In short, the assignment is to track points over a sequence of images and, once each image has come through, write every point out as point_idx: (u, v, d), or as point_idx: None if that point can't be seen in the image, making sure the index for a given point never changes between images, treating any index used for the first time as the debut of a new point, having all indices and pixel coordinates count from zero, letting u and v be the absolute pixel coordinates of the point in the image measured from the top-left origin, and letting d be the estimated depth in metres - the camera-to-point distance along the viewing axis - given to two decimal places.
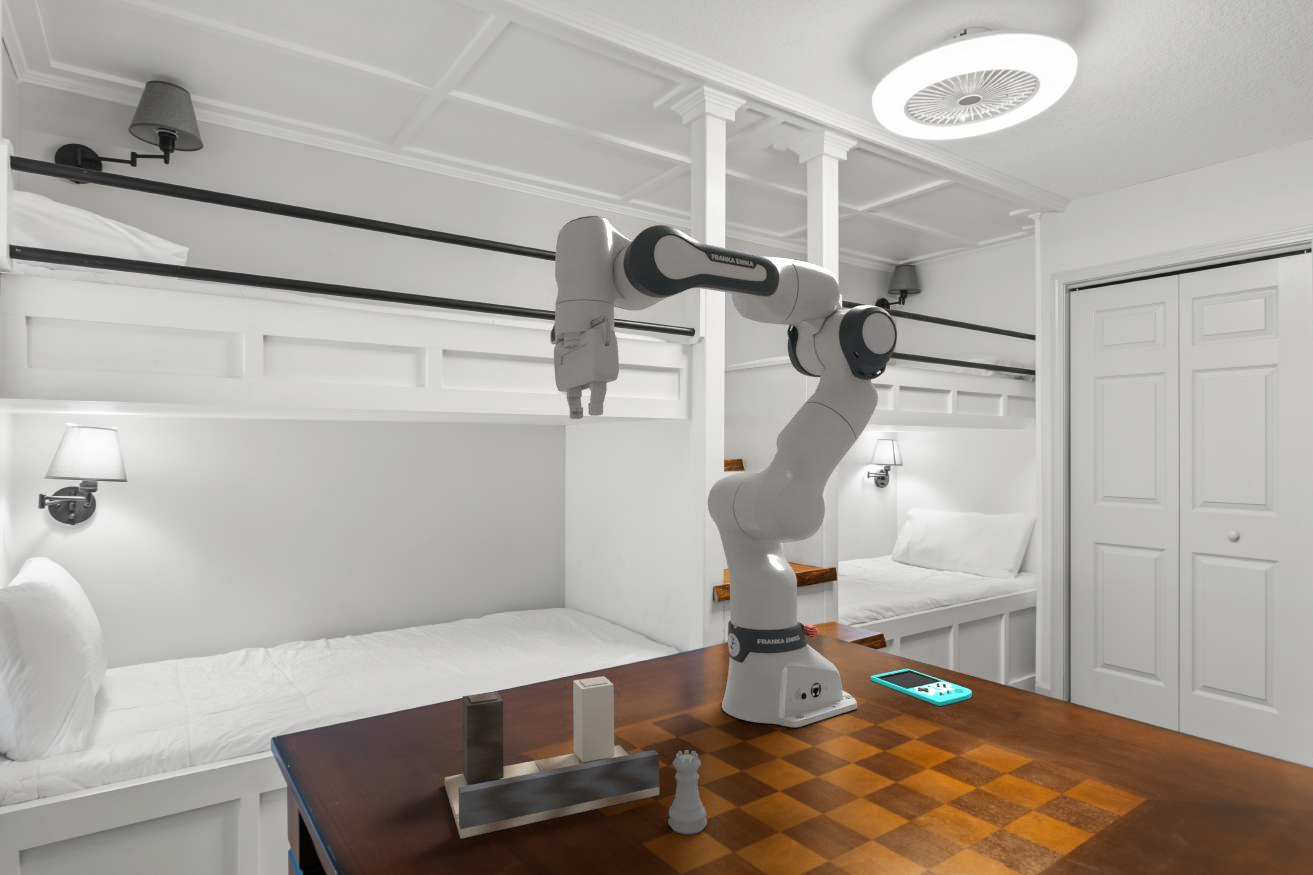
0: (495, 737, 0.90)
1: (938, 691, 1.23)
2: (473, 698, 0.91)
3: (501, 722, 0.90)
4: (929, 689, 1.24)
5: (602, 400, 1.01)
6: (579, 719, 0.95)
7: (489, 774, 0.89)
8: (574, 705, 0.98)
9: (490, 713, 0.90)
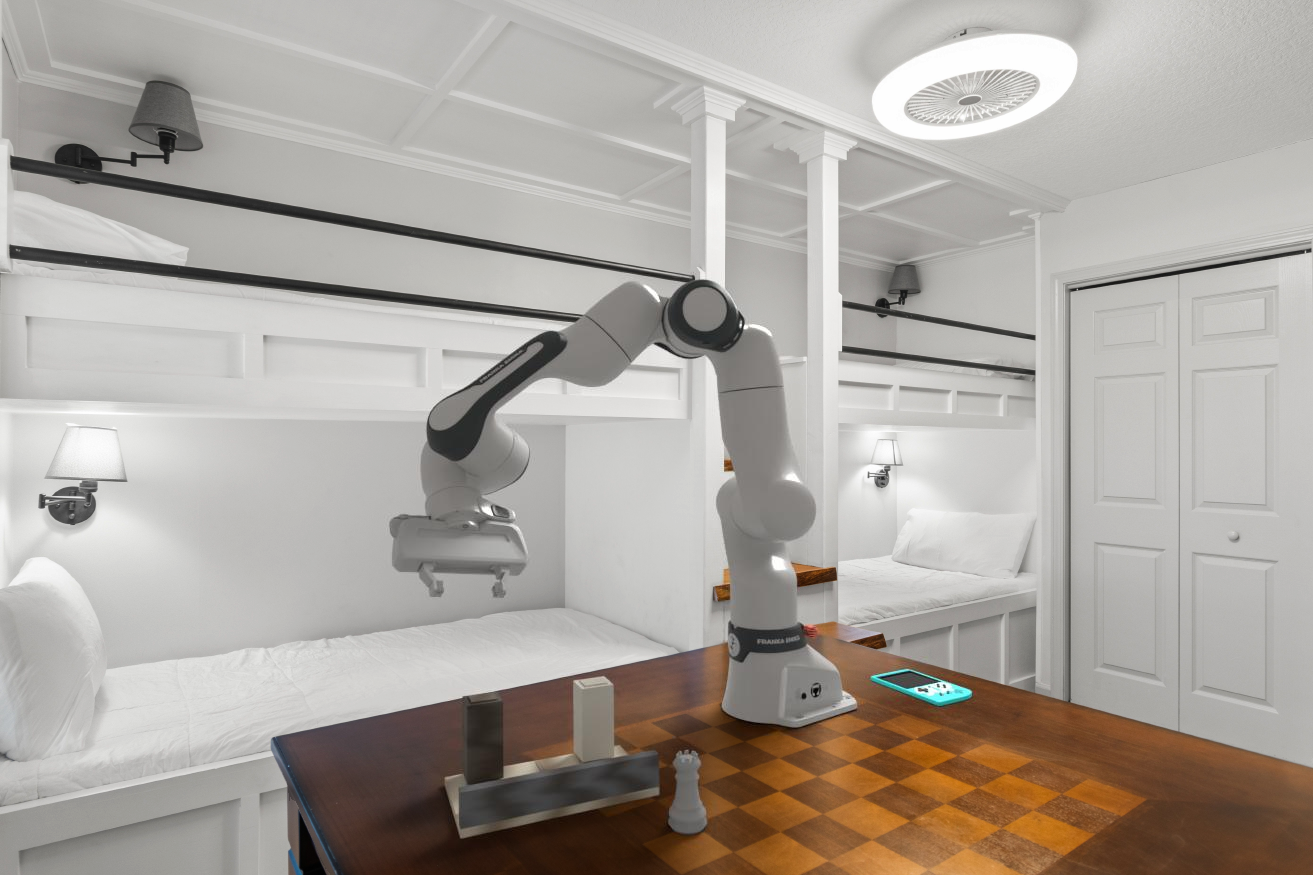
0: (495, 737, 0.90)
1: (938, 691, 1.23)
2: (473, 698, 0.91)
3: (501, 722, 0.90)
4: (929, 689, 1.24)
5: (429, 579, 0.99)
6: (579, 719, 0.95)
7: (489, 774, 0.89)
8: (574, 705, 0.98)
9: (490, 713, 0.90)
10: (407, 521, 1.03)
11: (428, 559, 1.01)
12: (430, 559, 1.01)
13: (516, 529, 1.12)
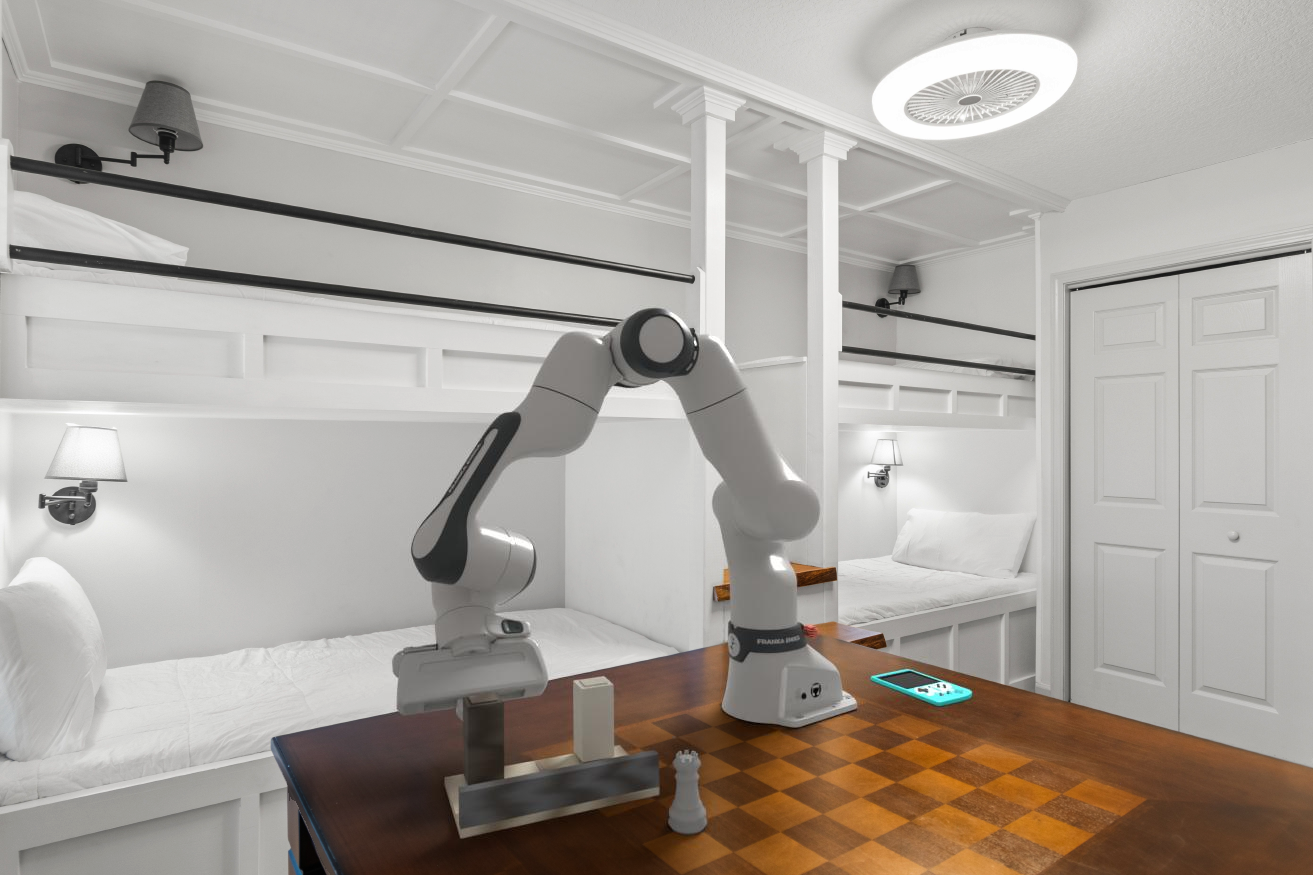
0: (495, 738, 0.89)
1: (938, 691, 1.23)
2: (474, 699, 0.90)
3: (502, 723, 0.90)
4: (929, 689, 1.24)
5: None
6: (579, 719, 0.95)
7: (490, 775, 0.89)
8: (574, 705, 0.98)
9: (491, 714, 0.89)
10: (408, 657, 0.96)
11: (431, 699, 0.93)
12: (433, 699, 0.93)
13: (532, 643, 1.02)
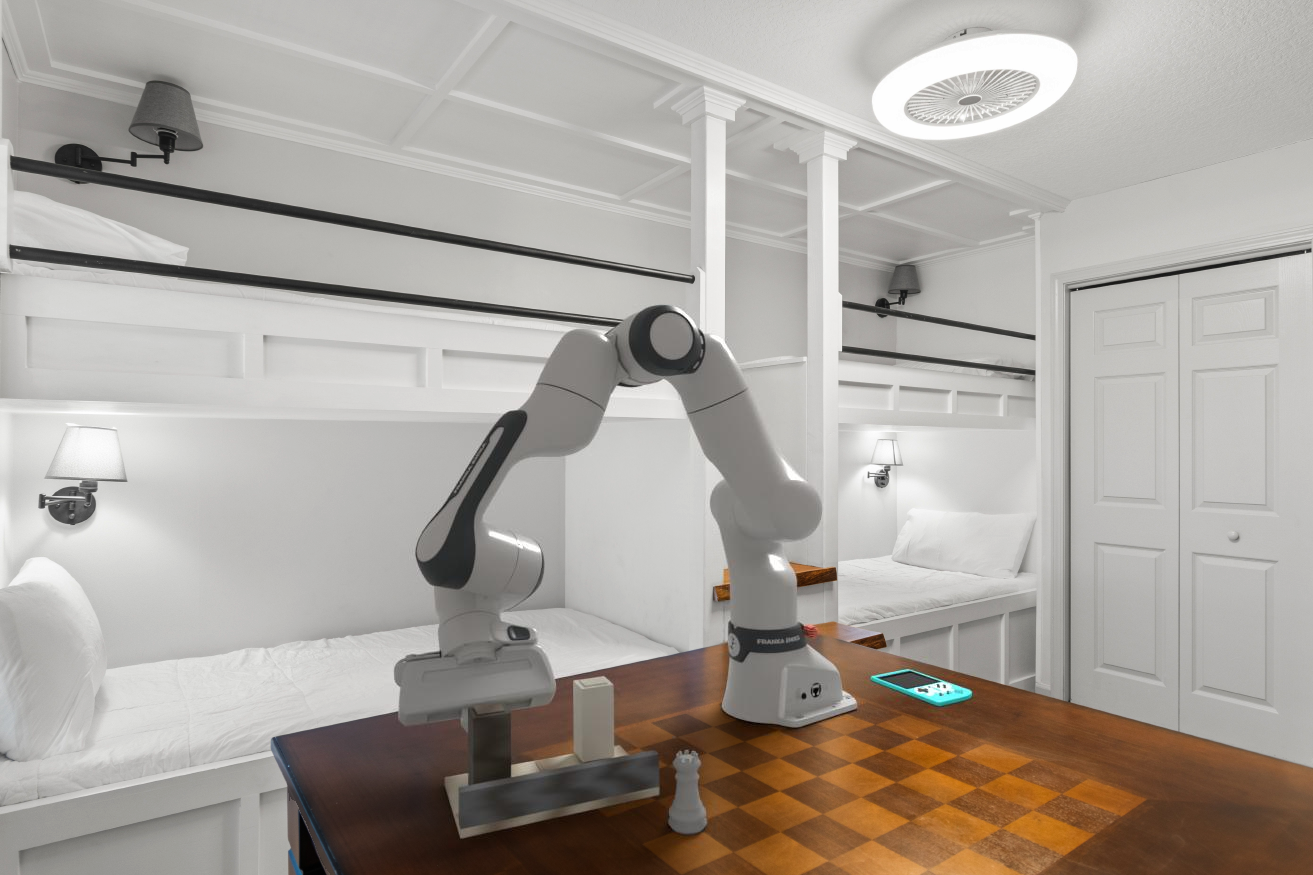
0: (502, 751, 0.85)
1: (938, 692, 1.23)
2: (480, 710, 0.86)
3: (509, 735, 0.86)
4: (929, 689, 1.24)
5: None
6: (579, 719, 0.95)
7: None
8: (574, 705, 0.98)
9: (497, 725, 0.85)
10: (411, 665, 0.92)
11: (434, 709, 0.89)
12: (436, 709, 0.89)
13: (539, 650, 0.98)
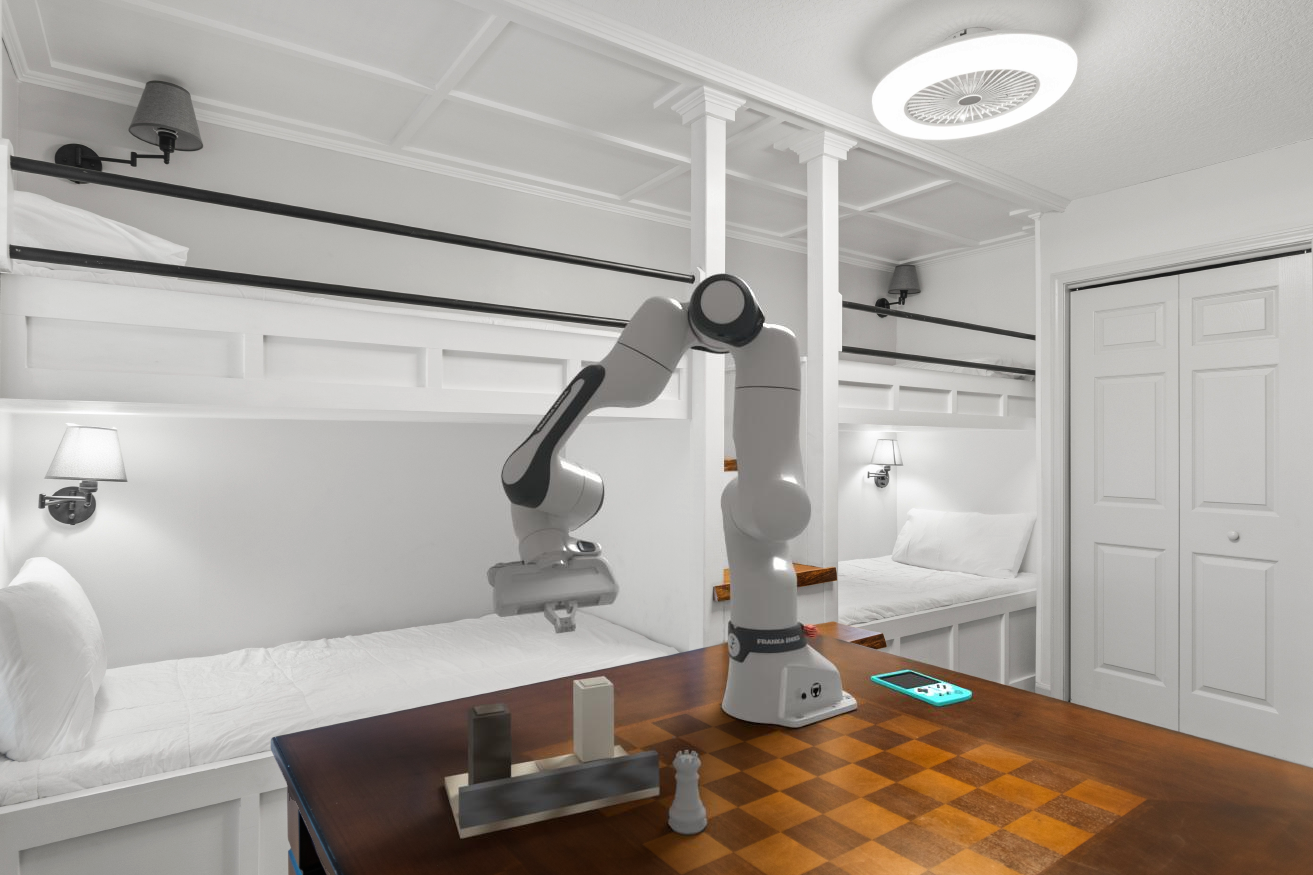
0: (502, 751, 0.85)
1: (938, 692, 1.23)
2: (480, 710, 0.86)
3: (509, 735, 0.86)
4: (929, 690, 1.24)
5: (553, 617, 1.10)
6: (579, 719, 0.95)
7: None
8: (574, 705, 0.98)
9: (497, 726, 0.85)
10: (502, 569, 1.12)
11: (524, 602, 1.09)
12: (526, 602, 1.09)
13: (603, 560, 1.18)
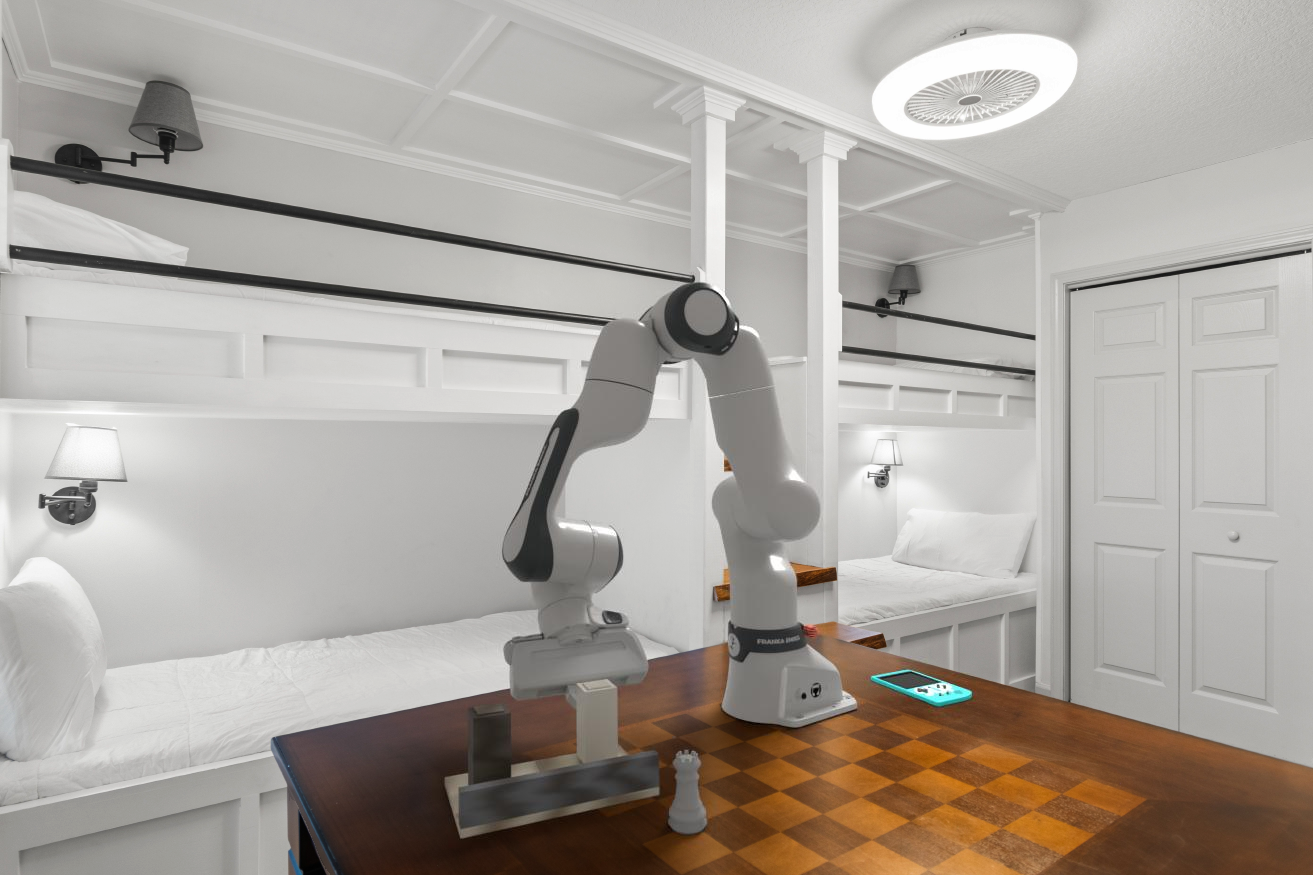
0: (502, 751, 0.85)
1: (938, 692, 1.22)
2: (480, 710, 0.86)
3: (509, 735, 0.86)
4: (929, 690, 1.24)
5: None
6: (582, 723, 0.94)
7: None
8: (577, 708, 0.96)
9: (497, 726, 0.85)
10: (519, 646, 1.01)
11: (544, 685, 0.98)
12: (546, 685, 0.98)
13: (631, 633, 1.07)
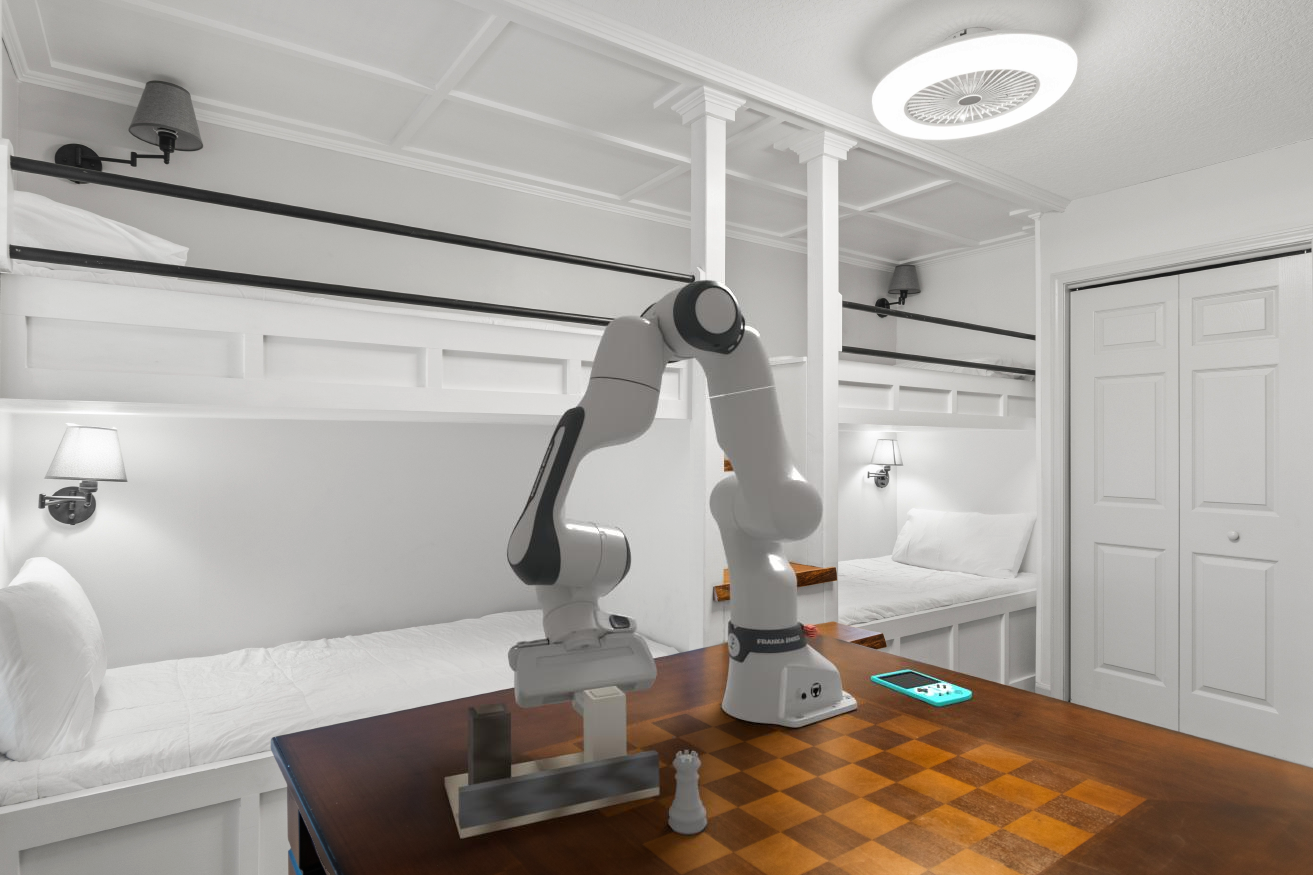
0: (502, 751, 0.85)
1: (938, 692, 1.22)
2: (480, 710, 0.86)
3: (509, 735, 0.86)
4: (929, 690, 1.24)
5: (583, 710, 0.96)
6: (590, 731, 0.91)
7: None
8: (584, 716, 0.93)
9: (497, 726, 0.85)
10: (525, 651, 0.98)
11: (550, 692, 0.95)
12: (552, 692, 0.95)
13: (639, 638, 1.04)
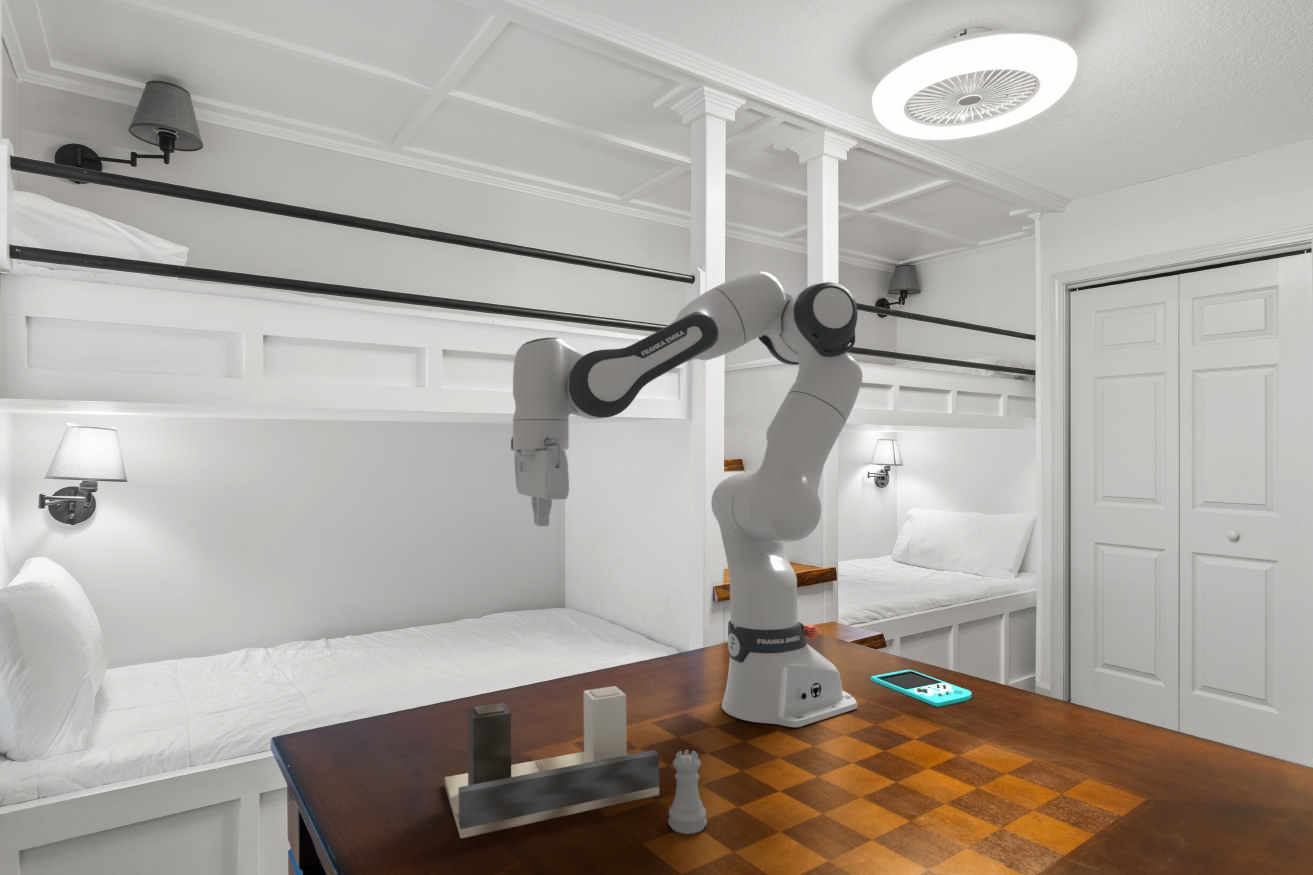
0: (502, 751, 0.85)
1: (937, 692, 1.22)
2: (480, 710, 0.86)
3: (509, 735, 0.86)
4: (928, 690, 1.23)
5: (548, 512, 1.12)
6: (590, 731, 0.91)
7: None
8: (584, 717, 0.93)
9: (497, 726, 0.85)
10: None
11: None
12: None
13: None
